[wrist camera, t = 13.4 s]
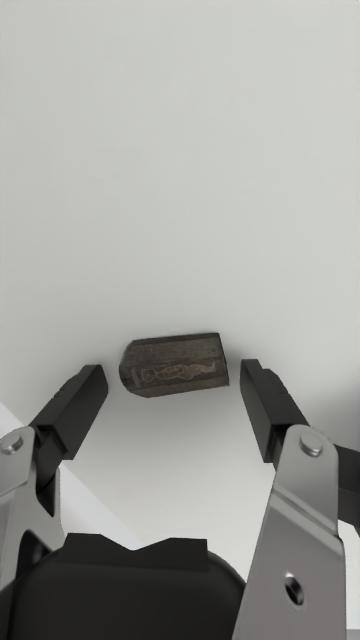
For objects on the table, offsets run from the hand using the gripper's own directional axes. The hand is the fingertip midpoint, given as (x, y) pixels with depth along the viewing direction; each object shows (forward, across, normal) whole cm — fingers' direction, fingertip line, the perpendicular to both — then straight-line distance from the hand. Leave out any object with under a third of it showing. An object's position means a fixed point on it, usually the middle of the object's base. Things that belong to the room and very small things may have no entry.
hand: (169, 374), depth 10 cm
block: (+1, 0, 0) cm, 1 cm away
